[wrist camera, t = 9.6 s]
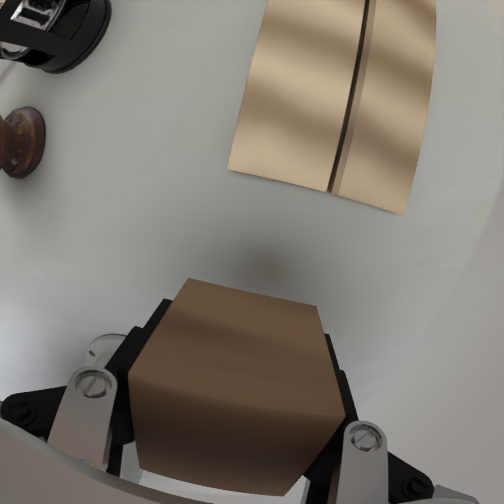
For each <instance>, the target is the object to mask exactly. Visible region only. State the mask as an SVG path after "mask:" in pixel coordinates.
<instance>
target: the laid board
mask: <svg viewBox="0 0 504 504" xmlns="http://www.w3.org/2000/svg"><path fill="white" fill-rule="evenodd" d="M435 38H436V0H366V1H365V9H364V16H363V22H362V29H361V35H360V41H359V47H358V53H357V58H356V64H355V69H354V75H353V80H352V85H351V90H350V95H349V100H348V104H347V109H346V114H345V118H344V123H343V127H342V132H341V136H340V140H339V145H338V149H337V153H336V157H335V161H334V165H333V169H332V173H331V177H330V181H329V185H328V189H327V191H328V192H330V193H331V194H335V195H338V196H342V197H345V198H349V199H352V200H356V201H359V202H362V203H366V204H369V205H372V206H375V207H379V208H382V209H385V210H388V211H391V212H394V213H397V214H400V215H403V214H404V211H405V207H406V204H407V200H408V197H409V193H410V190H411V186H412V182H413V178H414V174H415V170H416V166H417V162H418V158H419V153H420V149H421V144H422V139H423V134H424V129H425V124H426V118H427V112H428V106H429V99H430V92H431V84H432V76H433V66H434V54H435Z"/></svg>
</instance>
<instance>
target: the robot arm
mask: <svg viewBox="0 0 504 504" xmlns="http://www.w3.org/2000/svg"><path fill="white" fill-rule="evenodd" d="M172 302H173V301H172V300H168V299H163V300H162V302H161V303H160V305H159V306H158V307H157V309H156V310H155V312H154V313H153V314H152V316H151V317H150V319H149V320H148V322H147V323H146V324H145V326H144V327H143V328H141V327H137V326H135V327H133V328H132V330H131V331H130V332H129V334H128V335H127V336H126V337H124V336H120V335H106V336H102V337H99V338H97V339H95V340H94V341H93V342H92V343H91V344H90V346H89V347H88V348H87V350H86V353H85V358H84V363H85V367H83V368H81V369H78V370H77V371H76V372H74V373H73V375H72V376H71V378H70V380H69V382H68V385H67V386H62V387H57V388H50V389H44V390H37V391H30V392H23V393H16V394H12V395H10V396H8V397H7V398H6V399H5V400H4V401H0V504H212V503H206V502H201V501H197V500H192V499H188V498H184V497H180V496H176V495H172V494H168V493H165V492H161V491H158V490H154V489H151V488H148V487H145V486H142V485H139V481H140V478H141V476H142V473H143V469H140V467H139V462H138V456H137V450H136V444H135V437H134V430H133V422H132V414H131V405H130V394H129V382H128V373H129V371H130V369H131V368H132V366H133V364H134V363H135V361H136V359H137V358H138V356H139V354H140V353H141V351H142V350H143V348H144V346H145V345H146V343H147V341H148V340H149V338H150V337H151V335H152V333H153V332H154V330H155V329H156V327H157V326H158V324H159V322H160V321H161V319H162V318H163V316H164V315H165V313H166V311H167V310H168V308H169V307H170V305H171V304H172ZM324 335H325V339H326V343H327V346H328V350H329V353H330V357H331V361H332V365H333V368H334V372H335V376H336V380H337V383H338V387H339V391H340V395H341V399H342V403H343V407H344V411H345V415H346V417H345V418H344V420H343V421H342V423H341V424H340V426H339V427H338V428H337V430H336V431H335V433H334V434H333V436H332V437H331V438H330V440H329V441H328V443H327V444H326V445H325V447H324V448H323V449H322V451H321V452H320V453H319V455H318V456H317V457H316V459H315V460H314V461H313V462H312V464H311V465H310V466H309V467H308V469H307V470H306V471H305V472H304V474H303V475H304V477H306V478H307V479H306V483H305V487H304V491H303V496H302V499H301V503H300V504H479V502H478V501H477V499H475V498H474V497H472V496H469V495H466V494H463V493H460V492H457V491H454V490H451V489H449V488H446V487H443V486H440V485H436V486H433V484H432V481H431V480H430V478H429V477H428V476H426V475H425V474H424V473H422V472H421V471H419V470H417V469H416V468H414V467H412V466H410V465H409V464H407V463H406V462H404V461H403V460H401V459H399V458H398V457H396V456H395V455H393V454H392V453H390V452H388V451H387V439H386V436H385V434H384V432H383V431H382V430H381V429H380V428H379V427H378V426H376V425H375V424H373V423H370V422H368V421H359V420H358V416H357V412H356V409H355V405H354V402H353V398H352V395H351V391H350V388H349V385H348V381H347V378H346V375H345V372H344V371H343V370H340V369H339V365H338V362H337V358H336V355H335V352H334V348H333V345H332V342H331V338H330V335H329V334H325V333H324Z"/></svg>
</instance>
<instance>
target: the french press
mask: <svg viewBox="0 0 504 504" xmlns="http://www.w3.org/2000/svg"><path fill="white" fill-rule="evenodd" d="M85 1H88V2H89V5H88V9H87V12H86V15H85V17H84V19H83V21H82V23H81V25H80V26H79V28H78V30H77V31H76V33H75V34H74V35H73V37H72V38H71V40H69V39H67V38H64V37H62V36H59V35H56V34H54V33H51V30H52V29H53V28H54V26H55V25H56V23H57V21H58V20H59V18H60V16H61V15H62V13H63V12H64V11H66V10H67V9H68V8H70V7H71V6H73V5H75V4H77V3H80V2H85ZM0 7H1V9H0V59H6V60H12V61H17V62H22V63H24V64H25V65H27V66H29V67H33V68H38V69H42V70H44V71H45V72H47V73H50V74H59V73H63V72H66V71H68V70H70V69H72V68H74V67H75V66H77V65H78V64H80V63H81V62H82V61H83V60H84V59H85V58H87V56H88V55H89V54H90V53H91V52H92V51H93V50H94V49H95V47H96V46H97V45H98V43H99V42H100V40H101V39H102V37H103V35H104V33H105V31H106V29H107V27H108V24H109V21H110V17H111V4H110V1H109V0H6V1H5V2H4V3H0ZM46 53H49V54H53V55H55V56H54V57H52V58H51V59H49V58H48V56H47V54H46Z"/></svg>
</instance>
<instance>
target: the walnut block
mask: <svg viewBox="0 0 504 504" xmlns="http://www.w3.org/2000/svg"><path fill="white" fill-rule="evenodd" d="M128 382H129V394H130V405H131V414H132V422H133V430H134V437H135V444H136V450H137V456H138V462H139V467H140V469H143V470H146V471H149V472H152V473H155V474H159V475H162V476H166V477H169V478H173V479H176V480H180V481H184V482H188V483H193V484H197V485H202V486H206V487H211V488H217V489H222V490H228V491H235V492H242V493H250V494H259V495H270V496H284V495H285V494H286V493H287V492H288V491H289V490H290V489H291V487H292V486H293V485H294V484H295V483H296V482H297V481H298V479H299V478H300V477H301V476H302V475H303V474H304V472H305V471H306V470H307V469H308V467H309V466H310V465H311V464H312V462H313V461H314V460H315V459H316V457H317V456H318V455H319V453H320V452H321V451H322V449H323V448H324V447H325V445H326V444H327V443H328V441H329V440H330V438H331V437H332V436H333V434H334V433H335V431H336V430H337V428H338V427H339V426H340V424H341V423H342V421H343V420H344V418H345V417H346V415H345V411H344V407H343V403H342V399H341V395H340V391H339V387H338V383H337V380H336V376H335V372H334V368H333V365H332V361H331V357H330V353H329V350H328V346H327V343H326V339H325V335H324V332H323V328H322V325H321V321H320V318H319V315H318V311H317V308H316V306H312V305H307V304H302V303H297V302H292V301H288V300H283V299H278V298H273V297H269V296H264V295H259V294H255V293H250V292H246V291H241V290H237V289H232V288H228V287H224V286H219V285H215V284H211V283H206V282H202V281H198V280H194V279H190V278H188V279H187V281H186V282H185V284H184V285H183V287H182V288H181V290H180V291H179V293H178V294H177V296H176V297H175V299H174V301H173V302H172V304H171V305H170V307H169V308H168V310H167V311H166V313H165V315H164V316H163V318H162V319H161V321H160V322H159V324H158V326H157V327H156V329H155V330H154V332H153V333H152V335H151V337H150V338H149V340H148V341H147V343H146V345H145V346H144V348H143V350H142V351H141V353H140V354H139V356H138V358H137V359H136V361H135V363H134V364H133V366H132V368H131V369H130V371H129V373H128Z"/></svg>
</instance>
